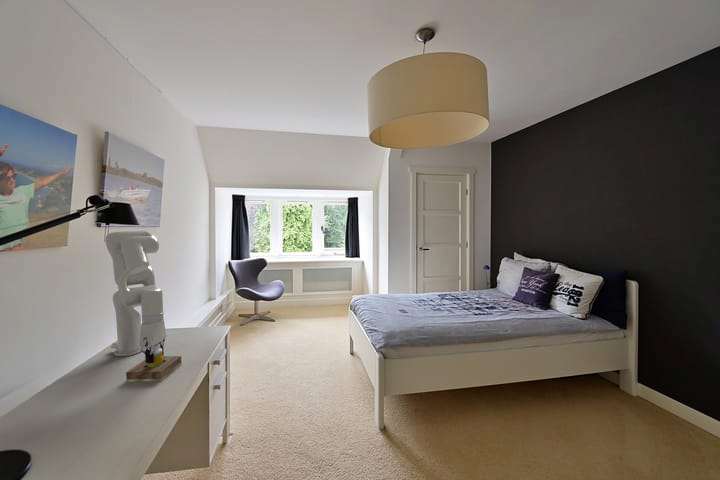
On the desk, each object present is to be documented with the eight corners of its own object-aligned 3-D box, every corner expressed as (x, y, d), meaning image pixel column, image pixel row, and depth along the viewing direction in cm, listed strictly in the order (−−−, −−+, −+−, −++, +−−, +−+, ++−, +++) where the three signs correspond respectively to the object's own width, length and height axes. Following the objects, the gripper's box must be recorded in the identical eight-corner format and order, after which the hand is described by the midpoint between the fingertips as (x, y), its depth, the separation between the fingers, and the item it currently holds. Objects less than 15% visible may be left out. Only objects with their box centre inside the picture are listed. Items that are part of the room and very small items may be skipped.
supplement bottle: (155, 370, 124) (154, 347, 123) (144, 369, 125) (143, 346, 124) (166, 364, 129) (164, 342, 129) (155, 363, 130) (154, 341, 130)
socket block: (126, 381, 120) (126, 372, 120) (150, 365, 134) (149, 356, 134) (161, 381, 120) (161, 371, 120) (181, 364, 134) (181, 356, 134)
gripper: (157, 311, 134) (159, 350, 135) (128, 324, 117) (130, 369, 118) (174, 311, 134) (175, 350, 136) (147, 324, 117) (150, 369, 118)
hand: (154, 358), depth 127 cm, fingers closed on supplement bottle, 5 cm apart
